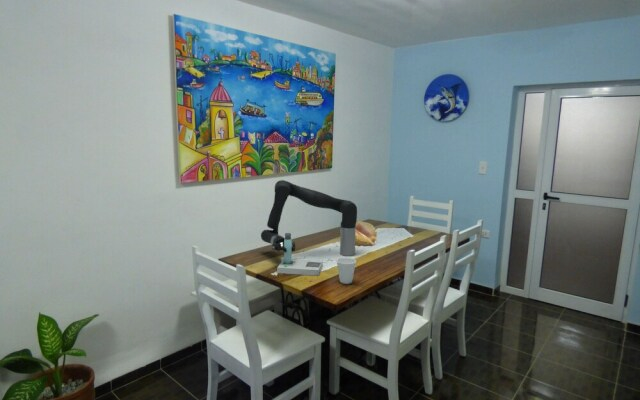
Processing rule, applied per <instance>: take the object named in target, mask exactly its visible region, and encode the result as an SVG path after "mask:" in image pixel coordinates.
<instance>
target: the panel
mask: <svg viewBox="0 0 640 400" xmlns="http://www.w3.org/2000/svg"><path fill="white" fill-rule="evenodd" d="M323 263H324V261H323V260H316V259H304V258H303V259H302V258H300V259H299V258H292V265H291V264H284V259H283V260H282V261H281V262H280V263H279V265H278V266H277V267H276V271H277V272H276V274H284V273H285V275H286V274H287V275H303V276H304V275H305V276H317V277H318V276H320V273H321V270H322V268H323V266H324V264H323Z"/></svg>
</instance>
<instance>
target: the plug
mask: <svg viewBox="0 0 640 400" xmlns="http://www.w3.org/2000/svg"><path fill="white" fill-rule="evenodd" d="M284 238H285V239H284V247H285V248H286V249H287V252H284V253H283V254H284V255H283V257H284V258H283V260H284V264H291V265H292V259H293V256H292V255H293V254H292V253H293V251H292V243H293V242H292V233H291V232H285V233H284Z"/></svg>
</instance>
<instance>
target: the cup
mask: <svg viewBox="0 0 640 400" xmlns="http://www.w3.org/2000/svg"><path fill="white" fill-rule="evenodd" d="M356 264H357V260H356V259H355V258H352V257H340V258H337V259H336V265H337V270H338V276H339V281H340V283H341V284H343V285H344V284H345V285H349V284H352V283H353V279H354V274H355V273H354V272H355V269H356Z"/></svg>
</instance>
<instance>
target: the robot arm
mask: <svg viewBox="0 0 640 400" xmlns="http://www.w3.org/2000/svg"><path fill="white" fill-rule="evenodd" d="M289 196H290V197H294V198H296V199H298V200H300V201H302V202H303V203H305V204H306V205H309V206H313V207H316V208H320V209H327V210H328V209H329V210H334V211H336V212H338V213H341V222H340V235H339V236H340V245H339V249H340V250H339V254H340V255H342V256H344V257H352V256H354V255H355V254H356V225H357V221H358V220H357V218H358V207H357V205H356V204H355V202H353V201H351V200H347V199H340V198H336V197H334V196H331V195H329V194H327V193H325V192H320V191H318V190H314V189H311V188H307V187H303V186H300V185H297V184H294V183H291V182H290V181H287V180H284V179H283V180H282V179H281V180H277V182H276V183H275V185H274V200H273V205H272V208H271V210H270V212H269V215H268V220H267V223H266V226H267V227H268V228H269V229H264V230H262V231H261V232H260V237H261V240H262V241H263V242H265V243H268V244H271V247H272V249H271V250H275V251H277V252H287V249H286V248H285V247H284V239H285V236H282V235H281V234H279V225H280V223H281V218H282V214H283V210H284V208H285V207H284V206H285V204H286V202H287V200H288V197H289ZM295 250H296V242H295V241H293V242H292V252H295Z"/></svg>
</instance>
